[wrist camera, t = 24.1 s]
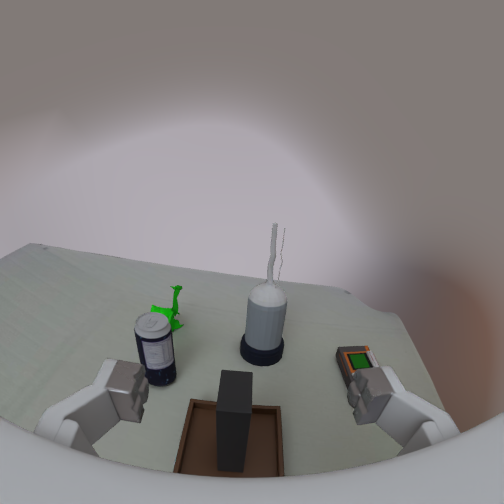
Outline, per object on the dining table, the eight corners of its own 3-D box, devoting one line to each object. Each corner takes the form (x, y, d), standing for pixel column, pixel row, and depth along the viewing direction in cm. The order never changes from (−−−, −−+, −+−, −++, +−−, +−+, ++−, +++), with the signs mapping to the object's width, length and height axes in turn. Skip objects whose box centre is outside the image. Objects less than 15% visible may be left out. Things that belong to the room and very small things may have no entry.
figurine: (198, 316, 61) (193, 282, 56) (169, 353, 51) (159, 320, 47) (175, 308, 63) (168, 275, 58) (144, 343, 53) (133, 309, 49)
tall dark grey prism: (217, 470, 27) (215, 410, 22) (221, 436, 33) (221, 367, 28) (243, 472, 27) (251, 413, 23) (244, 438, 33) (252, 370, 28)
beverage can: (181, 371, 45) (176, 314, 41) (169, 393, 40) (161, 336, 36) (152, 363, 46) (143, 307, 42) (138, 384, 41) (126, 327, 37)
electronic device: (361, 404, 37) (338, 344, 51) (354, 415, 38) (334, 355, 52) (396, 399, 37) (369, 343, 51) (389, 409, 39) (364, 353, 52)
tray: (282, 514, 22) (285, 509, 21) (170, 504, 22) (167, 499, 21) (278, 414, 38) (280, 406, 37) (191, 407, 38) (190, 398, 37)
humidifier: (257, 334, 58) (269, 215, 49) (290, 351, 53) (311, 226, 44) (230, 351, 52) (238, 222, 43) (265, 372, 47) (284, 235, 38)
